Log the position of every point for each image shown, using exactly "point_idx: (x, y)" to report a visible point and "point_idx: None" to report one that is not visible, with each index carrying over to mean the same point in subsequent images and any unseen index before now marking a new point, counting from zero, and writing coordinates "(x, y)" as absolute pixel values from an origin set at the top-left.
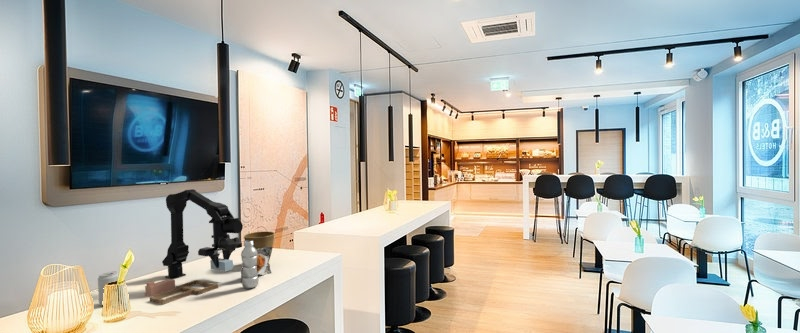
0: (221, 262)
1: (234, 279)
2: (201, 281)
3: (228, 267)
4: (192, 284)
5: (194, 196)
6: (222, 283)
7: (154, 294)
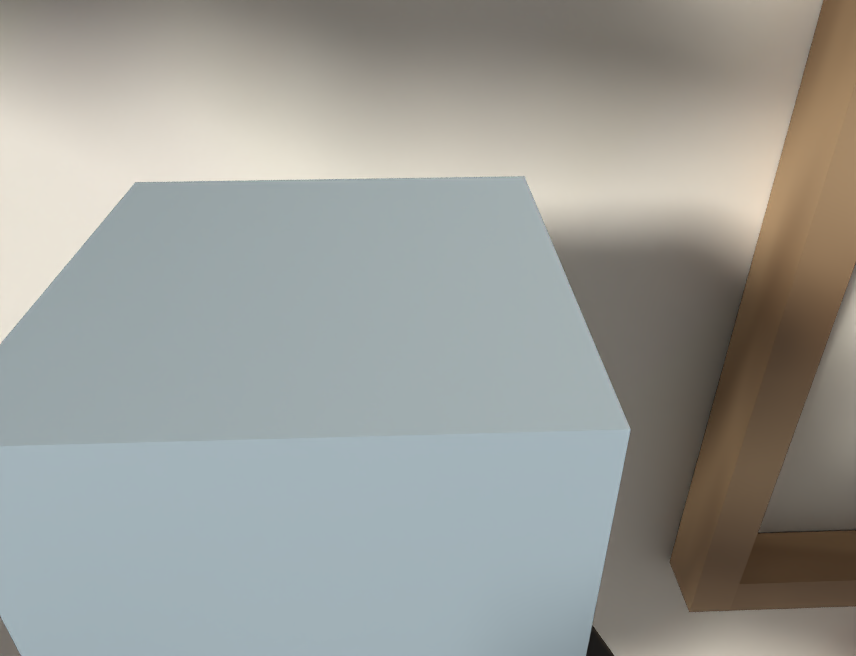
0: (578, 645)
1: (179, 102)
2: (753, 478)
3: (354, 236)
4: (776, 542)
5: None
6: (532, 118)
7: None
